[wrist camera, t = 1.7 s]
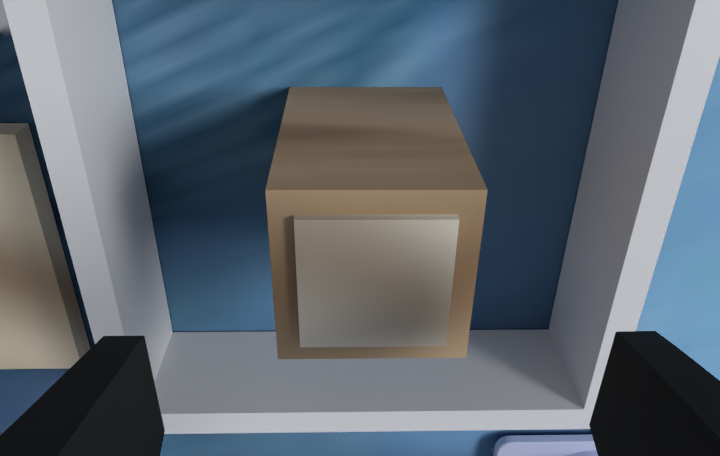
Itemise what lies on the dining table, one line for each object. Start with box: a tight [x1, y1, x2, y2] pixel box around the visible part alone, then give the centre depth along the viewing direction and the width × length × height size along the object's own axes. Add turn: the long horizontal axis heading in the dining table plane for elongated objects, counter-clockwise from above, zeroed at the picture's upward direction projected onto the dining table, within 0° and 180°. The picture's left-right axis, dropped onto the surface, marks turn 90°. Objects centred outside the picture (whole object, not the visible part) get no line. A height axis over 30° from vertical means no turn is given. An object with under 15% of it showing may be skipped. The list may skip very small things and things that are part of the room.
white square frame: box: [2, 0, 720, 434], centre depth 16 cm, size 14×14×4 cm
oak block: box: [265, 87, 488, 359], centre depth 15 cm, size 4×4×6 cm
